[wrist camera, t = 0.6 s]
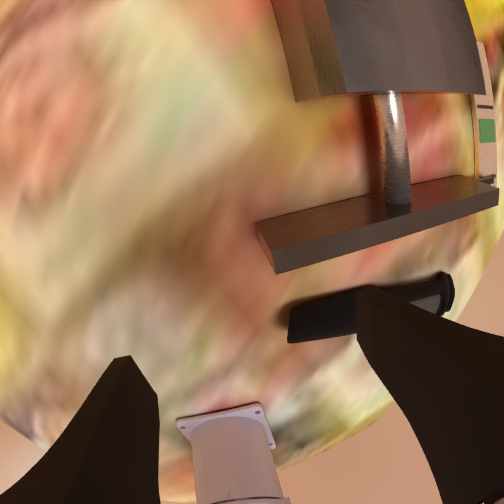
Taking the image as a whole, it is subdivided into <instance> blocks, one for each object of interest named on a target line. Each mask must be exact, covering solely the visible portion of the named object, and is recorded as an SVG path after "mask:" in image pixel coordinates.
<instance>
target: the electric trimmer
mask: <svg viewBox="0 0 504 504" xmlns="http://www.w3.org/2000/svg"><path fill="white" fill-rule="evenodd" d="M437 280H438V281H437ZM437 280H434V281H430V282H426V283H421V284H417V285H412V286H407V287H403V288H398V289H393V290H388V291H386V290H383V291H386V292H388V293H390V294H392V295H394V296H396V297H399V298H401V299H403V300H405V301H407V302H409V303H411V304H414V305H416V306H418V307H420V308H422V309H425V310H427V311H429V312H431V313H434V314H436V315H438V316H442V315H443V314H444V313H445V312H448V311H450V309H451V307H452V304H453V301H454V297H455V289H454V284H453V280H452V277H451V276H450V274H445V273H444V272H440V273H439V276H438V278H437ZM369 287H371V286H368V287H364V288H360V289H356V290H353V291H349V292H345V293H342V294H338V295H335V296H331V297H328V298H324V299H320V300H317V301H313V302H309V303H306V304H302V305H298V306H295V307H293V308H292V310H291V314H290V321H289V328H288V336H287V342H288V343H290V344H292V343H299V342H306V341H313V340H320V339H326V338H333V337H339V336H345V335H350V334H356V333H357V311H356V292H358V291H360V290H363V289H366V288H369ZM381 290H382V289H381Z"/></svg>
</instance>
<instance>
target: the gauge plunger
mask: <svg viewBox="0 0 504 504" xmlns="http://www.w3.org/2000/svg"><path fill="white" fill-rule="evenodd" d="M373 99H374V105H375V111H376V117H377V124H378V131H379V139H380V148H381V157H382V167H383V179H384V192H380V193H375V194H371V195H367V196H362V197H358V198H354V199H350V200H345V201H341V202H337V203H333V204H329V205H325V206H321V207H316V208H312V209H308V210H304V211H300V212H296V213H292V214H288V215H284V216H280V217H276V218H273V219H269V220H265V221H261V222H257V223H255V226H256V230H257V235H258V239H259V243H260V245H261V247H262V249H263V251H264V253H265V254H266V256H267V258H268V260H269V262H270V264H271V266H272V268H273V270H274V272H275V274H276V275H277V274H280V273H284V272H287V271H291V270H294V269H298V268H301V267H305V266H308V265H312V264H315V263H318V262H322V261H325V260H329V259H332V258H335V257H339V256H342V255H345V254H349V253H352V252H355V251H359V250H362V249H365V248H369V247H372V246H375V245H378V244H382V243H385V242H388V241H391V240H394V239H398V238H401V237H404V236H407V235H410V234H413V233H416V232H420V231H423V230H426V229H429V228H432V227H435V226H438V225H441V224H444V223H447V222H450V221H453V220H456V219H459V218H462V217H465V216H468V215H471V214H474V213H477V212H480V211H483V210H485V209H488V208H491V207H494V206H497V205H498V201H499V188H497V187H494V186H491V185H490V184H494V177H491V176H488V177H484V178H479V179H472V178H469V177H466V176H463V175H458V176H453V177H449V178H444V179H439V180H434V181H430V182H425V183H420V184H416V185H411V184H410V165H409V152H408V141H407V132H406V123H405V116H404V108H403V102H402V95H401V92H385V93H373Z"/></svg>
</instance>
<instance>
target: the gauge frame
mask: <svg viewBox="0 0 504 504" xmlns="http://www.w3.org/2000/svg"><path fill="white" fill-rule="evenodd" d="M271 2H272V5H273V9H274V13H275V16H276V20H277V24H278V27H279V31H280V35H281V39H282V43H283V47H284V51H285V55H286V59H287V63H288V68H289V72H290V76H291V81H292V85H293V90H294V95H295V99H296V102H300V101H307V100H315V99H324V98H333V97H344V96H357V95H373V93H385V92H401V94H470V101H471V109H472V119H473V131H474V150H475V179H479V178H484V177H488V176H491V177H494V184H490V185H491V186H494V187H496V183H497V142H496V124H495V112H494V103H493V95H492V87H491V81H490V75H489V69H488V64H487V59H486V54H485V50H484V46H483V43H482V42H478V41H476V39H475V35H474V31H473V27H472V24H471V21H470V17H469V14H468V11H467V8H466V5H465V2H464V0H271Z"/></svg>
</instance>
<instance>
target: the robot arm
mask: <svg viewBox="0 0 504 504" xmlns="http://www.w3.org/2000/svg"><path fill="white" fill-rule="evenodd" d="M356 311H357V341H358V343H359V345H360V347H361V349H362V351H363V353H364V355H365V356H366V358H367V360H368V362H369V364H370V365H371V367H372V368H373V370H374V371H375V373H376V374H377V376H378V377H379V378H380V380H381V381H382V383H383V384H384V386H385V387H386V388H387V390H388V391H389V393H390V394H391V396H392V397H393V398H394V400H395V401H396V403H397V404H398V406H399V407H400V408H401V410H402V411H403V413H404V415H405V416H406V418H407V419H408V421H409V423H410V425H411V427H412V429H413V431H414V433H415V435H416V437H417V439H418V441H419V443H420V445H421V447H422V449H423V451H424V454H425V456H426V458H427V461H428V463H429V465H430V468H431V471H432V473H433V476H434V478H435V481H436V484H437V487H438V490H439V493H440V496H441V499H442V502H443V504H482V503H483V502H484V504H504V337H503V336H498V335H494V334H490V333H487V332H483V331H480V330H477V329H473V328H470V327H467V326H464V325H461V324H459V323H456V322H454V321H451V320H448V319H446V318H443V317H441V316H438V315H436V314H434V313H431V312H429V311H427V310H425V309H422V308H420V307H418V306H416V305H414V304H411V303H409V302H407V301H405V300H403V299H401V298H399V297H396V296H394V295H392V294H390V293H388V292H386V291H383V290H381V289H379V288H376V287H374V286H371V287H369V288H366V289H363V290H360V291H358V292H356ZM176 426H177V427H178V429H179V430H180V431H181V432H182V434H183V435H184V436H185V437H186V438H187V440H188V441H189V442H190V443H191V444H192V455H193V468H194V479H195V490H196V500H197V504H291V502H290V498H284V497H283V493H282V490H281V486H280V483H279V479H278V476H277V472H276V468H275V464H274V461H273V457H272V453H271V450H273V449H275V448H276V444H275V441H274V438H273V436H272V433H271V430H270V428H269V425H268V422H267V419H266V417H265V414H264V411H263V408H262V406H261V404H259V403H255V404H251V405H247V406H243V407H239V408H235V409H230V410H226V411H221V412H216V413H211V414H206V415H201V416H195V417H190V418H184V419H178V420H176ZM159 428H160V421H159V408H158V397H157V394H156V393H155V391H154V390H153V389H152V387H151V386H150V384H149V383H148V381H147V380H146V378H145V377H144V375H143V374H142V372H141V371H140V369H139V368H138V366H137V365H136V363H135V362H134V360H133V358H132V357H131V355H129V356H124V357H119V358H114V359H113V361H112V362H111V363H110V365H109V366H108V367H107V369H106V370H105V372H104V373H103V374H102V376H101V377H100V379H99V380H98V382H97V383H96V385H95V386H94V388H93V389H92V391H91V392H90V394H89V395H88V397H87V398H86V400H85V401H84V403H83V404H82V406H81V407H80V409H79V410H78V412H77V413H76V414H75V416H74V417H73V419H72V420H71V421H70V423H69V424H68V426H67V427H66V429H65V430H64V431H63V433H62V434H61V435H60V437H59V438H58V439H57V440H56V442H55V443H54V444H53V445H52V446H51V448H50V449H49V450H48V451H47V452H46V454H45V455H44V456H43V457H42V458H41V459H40V460H39V461H38V462H37V463H36V464H35V465H34V466H33V467H32V468H31V469H30V470H29V471H28V472H27V473H26V474H25V475H24V476H23V477H22V478H21V479H20V480H19V481H18V482H16V483H15V484H14V485H13V486H12V487H10V488H9V489H8V490H6V491H5V492H4V493H2V494H1V495H0V504H160V496H159V485H158V461H159Z"/></svg>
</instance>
